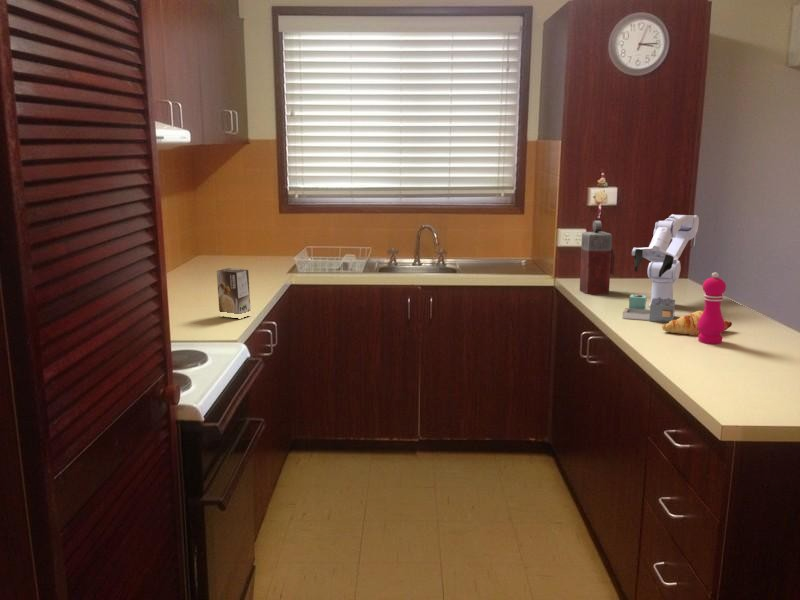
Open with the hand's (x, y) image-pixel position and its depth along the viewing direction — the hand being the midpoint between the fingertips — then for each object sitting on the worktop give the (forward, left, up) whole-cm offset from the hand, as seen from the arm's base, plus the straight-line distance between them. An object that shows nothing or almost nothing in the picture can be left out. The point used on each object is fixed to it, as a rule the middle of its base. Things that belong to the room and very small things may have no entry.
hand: (647, 272), depth 232 cm
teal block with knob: (-7, -3, -15) cm, 17 cm away
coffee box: (+50, -128, -15) cm, 138 cm away
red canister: (-39, -21, -15) cm, 46 cm away
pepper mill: (+27, +20, -15) cm, 37 cm away
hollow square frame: (+2, +1, -15) cm, 15 cm away
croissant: (+17, +16, -15) cm, 28 cm away
